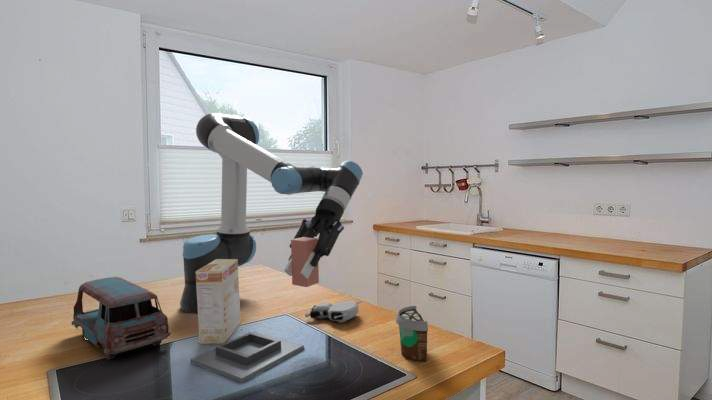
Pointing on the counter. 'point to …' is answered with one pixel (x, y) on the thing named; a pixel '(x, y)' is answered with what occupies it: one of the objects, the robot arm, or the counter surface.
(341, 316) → the robot toy
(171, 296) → the counter surface
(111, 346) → the toy van
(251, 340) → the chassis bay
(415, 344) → the food container
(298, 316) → the counter surface
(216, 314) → the coffeecake box
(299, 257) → the salmon pink rectangular block
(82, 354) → the counter surface
